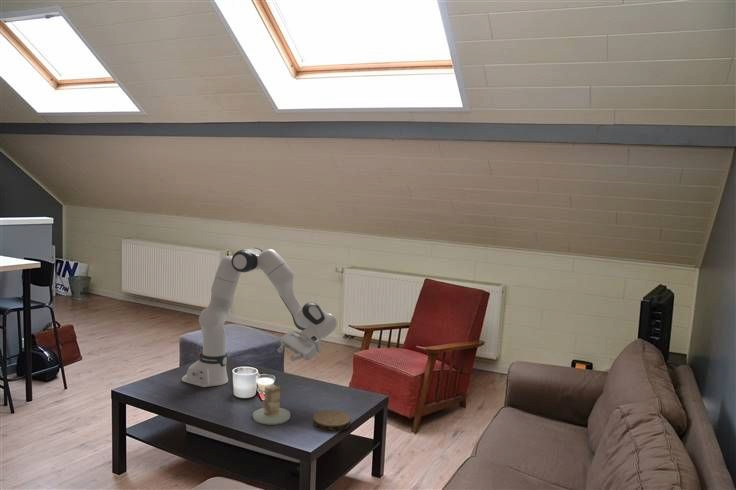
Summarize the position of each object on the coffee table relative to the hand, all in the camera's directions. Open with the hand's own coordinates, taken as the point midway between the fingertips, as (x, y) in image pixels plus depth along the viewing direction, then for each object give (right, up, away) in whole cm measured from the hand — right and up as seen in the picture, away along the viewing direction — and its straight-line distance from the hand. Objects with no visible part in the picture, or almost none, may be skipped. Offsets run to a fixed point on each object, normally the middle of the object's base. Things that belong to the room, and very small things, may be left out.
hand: (284, 355), depth 266 cm
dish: (-4, -25, -10) cm, 27 cm away
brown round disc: (+22, -27, -13) cm, 37 cm away
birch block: (-4, -23, -10) cm, 26 cm away
